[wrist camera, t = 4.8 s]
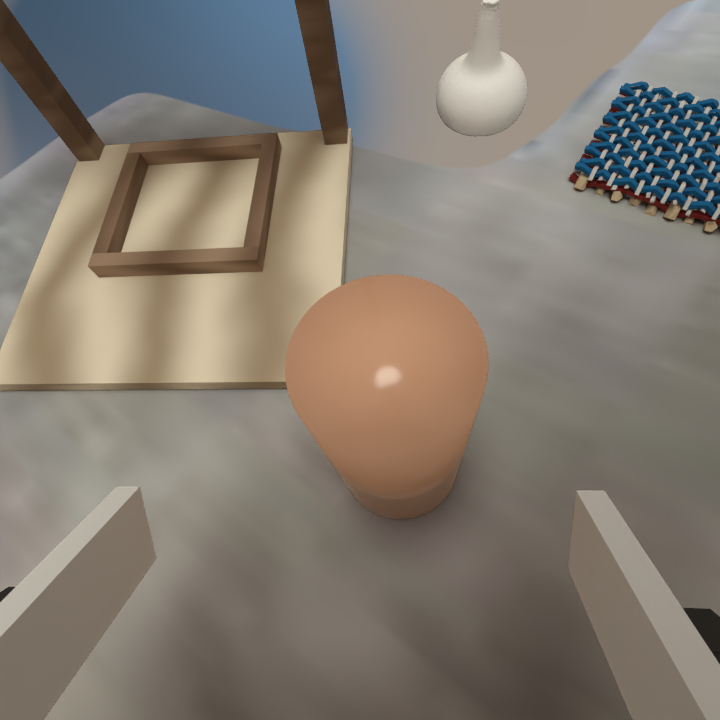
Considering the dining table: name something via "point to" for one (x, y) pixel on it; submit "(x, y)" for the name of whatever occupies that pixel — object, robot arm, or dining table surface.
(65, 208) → the wooden c-frame stand
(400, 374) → the tan cylinder
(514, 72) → the garlic bulb
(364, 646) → the dining table surface
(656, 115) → the woven mat
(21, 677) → the robot arm
